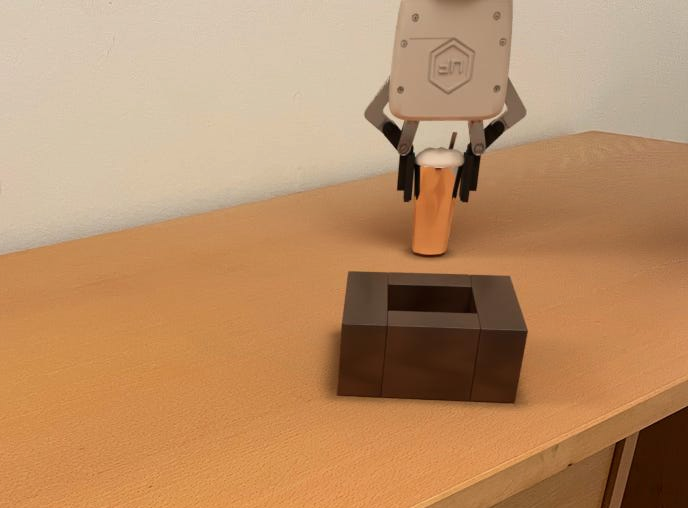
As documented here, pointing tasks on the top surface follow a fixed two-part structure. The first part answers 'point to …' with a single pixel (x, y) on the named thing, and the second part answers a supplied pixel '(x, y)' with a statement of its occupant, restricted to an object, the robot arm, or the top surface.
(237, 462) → the top surface
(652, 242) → the top surface
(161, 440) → the top surface
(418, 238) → the milkshake
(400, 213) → the top surface
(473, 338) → the holder
